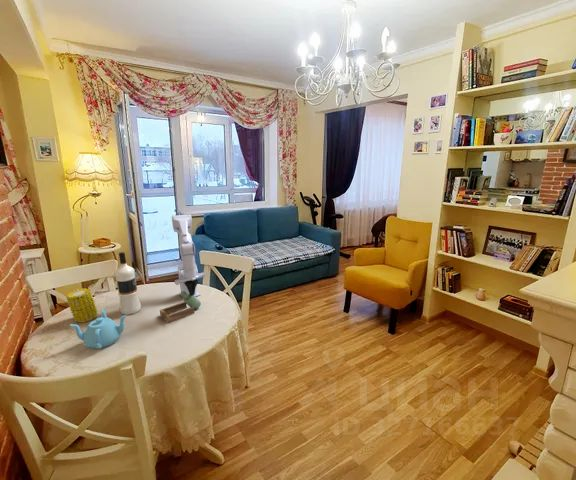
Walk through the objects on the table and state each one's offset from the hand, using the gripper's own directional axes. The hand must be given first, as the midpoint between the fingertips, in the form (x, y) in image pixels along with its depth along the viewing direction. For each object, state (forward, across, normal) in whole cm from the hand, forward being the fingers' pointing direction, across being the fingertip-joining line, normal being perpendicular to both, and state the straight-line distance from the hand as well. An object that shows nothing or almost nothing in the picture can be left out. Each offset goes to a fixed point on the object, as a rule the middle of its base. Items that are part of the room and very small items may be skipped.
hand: (192, 294), depth 146 cm
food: (+8, -40, +28) cm, 50 cm away
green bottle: (+7, +2, +1) cm, 7 cm away
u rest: (+8, -7, +1) cm, 11 cm away
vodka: (+8, -23, +21) cm, 32 cm away
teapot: (+8, -39, +2) cm, 40 cm away
